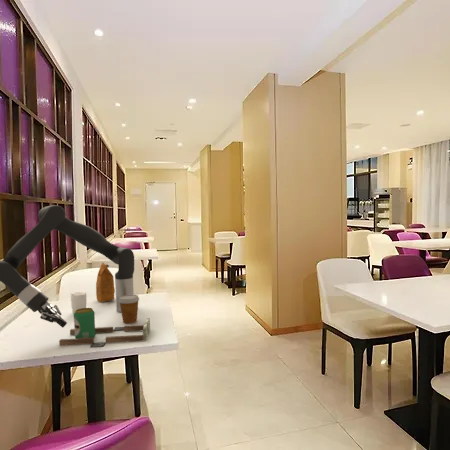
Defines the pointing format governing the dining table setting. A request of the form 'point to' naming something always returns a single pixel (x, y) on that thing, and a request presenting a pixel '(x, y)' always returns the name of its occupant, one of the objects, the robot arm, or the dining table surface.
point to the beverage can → (84, 323)
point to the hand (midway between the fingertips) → (65, 325)
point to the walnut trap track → (111, 338)
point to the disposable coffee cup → (129, 308)
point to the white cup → (78, 301)
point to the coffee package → (104, 284)
